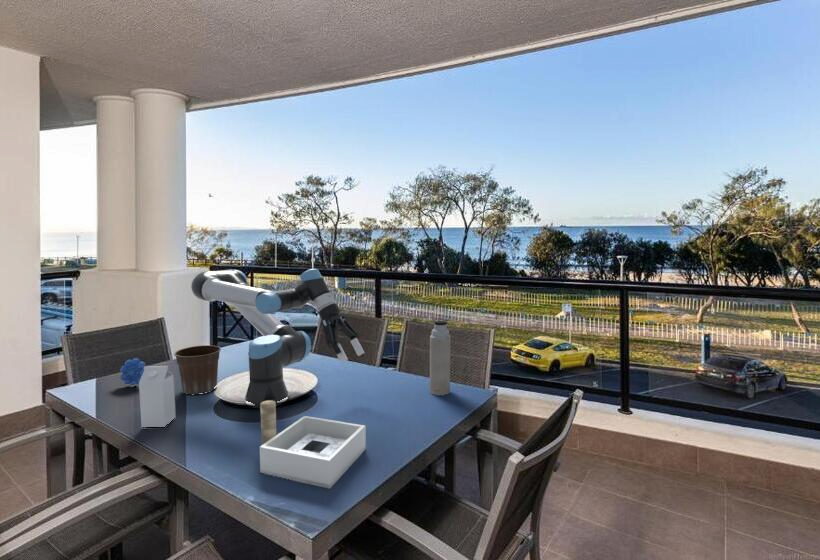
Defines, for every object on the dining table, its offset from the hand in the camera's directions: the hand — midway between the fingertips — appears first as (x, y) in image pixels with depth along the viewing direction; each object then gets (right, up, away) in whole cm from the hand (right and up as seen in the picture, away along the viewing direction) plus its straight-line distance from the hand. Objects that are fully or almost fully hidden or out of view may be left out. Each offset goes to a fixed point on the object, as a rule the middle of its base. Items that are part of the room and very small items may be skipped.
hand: (353, 357), depth 152 cm
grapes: (-91, -15, +17) cm, 93 cm away
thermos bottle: (+32, -16, +11) cm, 38 cm away
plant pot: (-62, -15, +12) cm, 65 cm away
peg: (-19, -20, -35) cm, 45 cm away
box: (-5, -20, -40) cm, 45 cm away
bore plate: (-5, -20, -40) cm, 45 cm away
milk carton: (-60, -18, -18) cm, 65 cm away
